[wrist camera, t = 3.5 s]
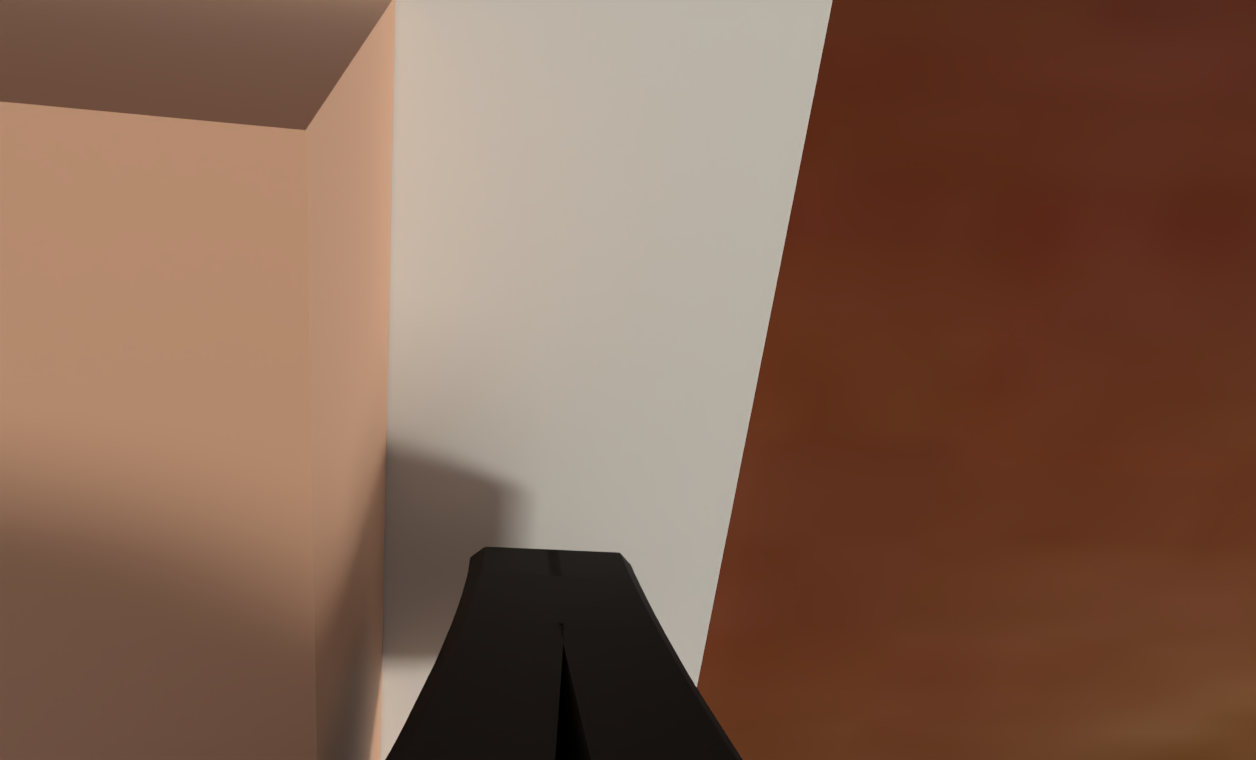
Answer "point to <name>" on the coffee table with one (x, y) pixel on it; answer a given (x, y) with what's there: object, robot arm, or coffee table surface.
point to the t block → (193, 377)
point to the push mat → (580, 291)
